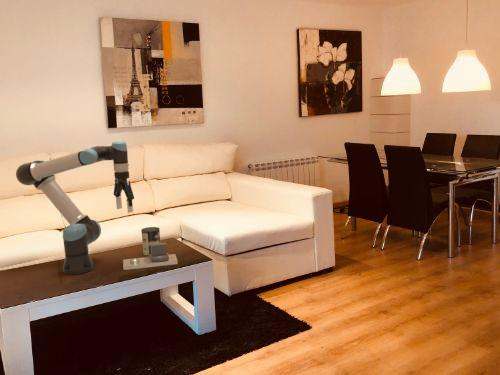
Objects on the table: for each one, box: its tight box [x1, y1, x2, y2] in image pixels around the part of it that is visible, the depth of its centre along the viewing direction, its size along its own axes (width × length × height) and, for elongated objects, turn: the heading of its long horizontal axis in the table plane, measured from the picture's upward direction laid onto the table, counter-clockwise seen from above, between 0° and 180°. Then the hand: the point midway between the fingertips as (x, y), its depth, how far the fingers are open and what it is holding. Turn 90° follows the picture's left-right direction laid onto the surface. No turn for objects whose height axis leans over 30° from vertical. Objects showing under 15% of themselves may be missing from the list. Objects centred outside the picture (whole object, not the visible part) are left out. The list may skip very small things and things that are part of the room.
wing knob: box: [149, 242, 170, 262], centre depth 273 cm, size 10×10×8 cm
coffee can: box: [140, 226, 161, 256], centre depth 291 cm, size 10×10×14 cm
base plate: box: [122, 253, 178, 271], centre depth 273 cm, size 28×12×3 cm, turn 104°
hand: (124, 210), depth 272 cm, fingers open, 13 cm apart
